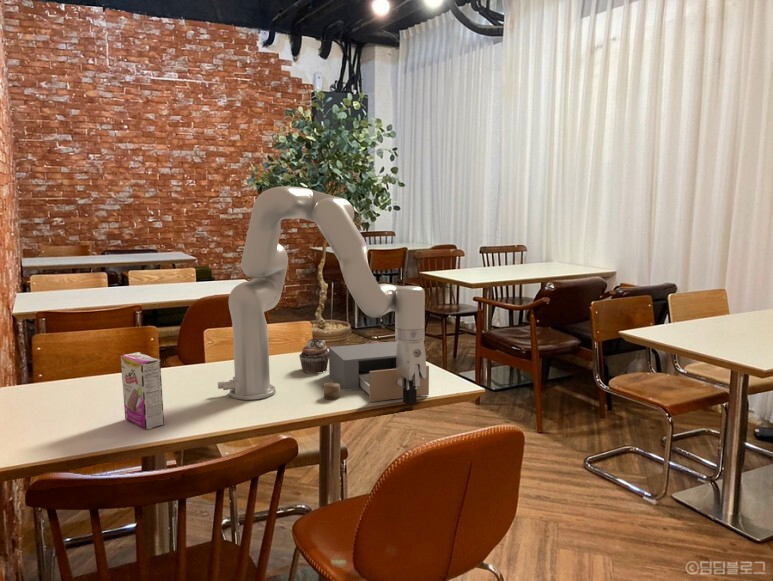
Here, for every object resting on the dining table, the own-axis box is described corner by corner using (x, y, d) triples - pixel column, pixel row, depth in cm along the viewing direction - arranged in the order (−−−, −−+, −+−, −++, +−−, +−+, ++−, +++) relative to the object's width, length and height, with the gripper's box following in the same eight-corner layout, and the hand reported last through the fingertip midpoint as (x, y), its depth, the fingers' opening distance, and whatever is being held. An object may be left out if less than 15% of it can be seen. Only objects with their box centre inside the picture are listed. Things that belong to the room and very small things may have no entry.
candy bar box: (123, 419, 149) (119, 355, 147) (143, 414, 153) (139, 351, 151) (145, 431, 142) (141, 363, 140) (165, 425, 146) (161, 358, 143)
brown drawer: (430, 395, 166) (430, 367, 165) (371, 402, 161) (371, 372, 160) (406, 378, 183) (406, 352, 182) (352, 384, 177) (352, 357, 176)
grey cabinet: (421, 381, 181) (421, 353, 180) (344, 390, 173) (344, 360, 172) (401, 367, 197) (401, 341, 195) (329, 374, 189) (328, 347, 187)
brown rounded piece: (326, 400, 164) (325, 388, 163) (322, 395, 168) (322, 383, 167) (341, 398, 165) (341, 386, 165) (337, 394, 169) (337, 382, 169)
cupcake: (300, 366, 198) (299, 336, 197) (329, 365, 199) (329, 335, 198) (298, 374, 189) (298, 343, 187) (329, 373, 190) (329, 342, 188)
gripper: (435, 339, 150) (434, 410, 152) (412, 327, 164) (412, 393, 166) (407, 341, 147) (407, 413, 150) (386, 329, 161) (386, 396, 164)
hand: (409, 402), depth 158 cm, fingers closed
